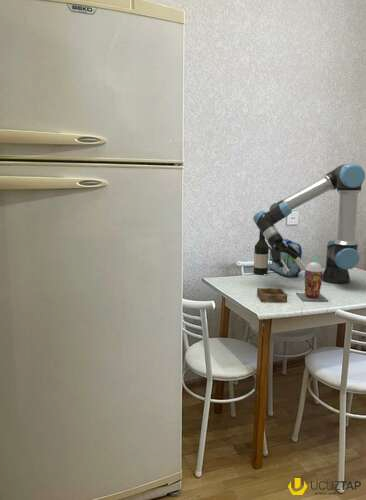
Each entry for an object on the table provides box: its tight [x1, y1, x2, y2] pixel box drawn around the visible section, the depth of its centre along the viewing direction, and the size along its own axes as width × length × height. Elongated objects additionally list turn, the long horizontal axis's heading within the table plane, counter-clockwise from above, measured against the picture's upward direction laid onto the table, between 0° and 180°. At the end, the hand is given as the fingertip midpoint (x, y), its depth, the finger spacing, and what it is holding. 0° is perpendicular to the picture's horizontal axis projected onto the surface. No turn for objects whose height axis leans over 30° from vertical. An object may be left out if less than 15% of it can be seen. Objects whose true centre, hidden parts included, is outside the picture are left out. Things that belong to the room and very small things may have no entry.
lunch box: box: [269, 238, 303, 277], centre depth 244 cm, size 26×11×21 cm, turn 12°
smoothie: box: [304, 256, 324, 298], centre depth 194 cm, size 8×8×20 cm
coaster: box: [295, 292, 329, 303], centre depth 196 cm, size 12×12×1 cm
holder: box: [256, 287, 288, 303], centre depth 194 cm, size 12×12×4 cm
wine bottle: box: [253, 230, 270, 276], centre depth 242 cm, size 8×8×30 cm
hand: (295, 270), depth 202 cm, fingers open, 13 cm apart
